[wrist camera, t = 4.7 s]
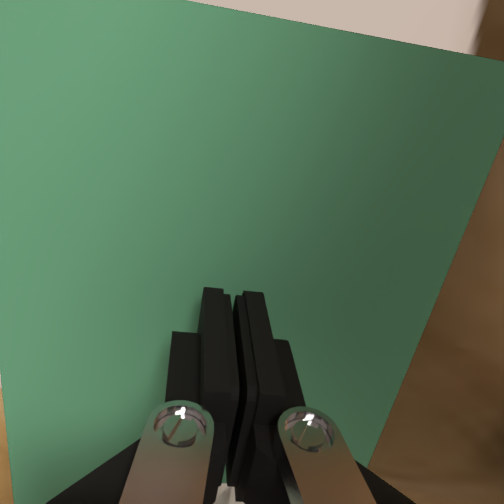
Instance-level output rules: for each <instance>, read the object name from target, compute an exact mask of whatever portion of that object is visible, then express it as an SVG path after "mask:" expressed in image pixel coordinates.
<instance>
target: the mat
mask: <svg viewBox="0 0 504 504" xmlns="http://www.w3.org/2000/svg"><path fill="white" fill-rule="evenodd" d="M503 137H504V61H500V60H494V59H489V58H484V57H479V56H474V55H468V54H463V53H458V52H452V51H447V50H442V49H437V48H432V47H427V46H421V45H416V44H411V43H405V42H400V41H395V40H389V39H385V38H380V37H374V36H369V35H364V34H359V33H354V32H348V31H343V30H337V29H332V28H327V27H322V26H317V25H312V24H307V23H302V22H296V21H290V20H286V19H280V18H275V17H270V16H265V15H260V14H255V13H249V12H244V11H238V10H234V9H229V8H223V7H218V6H213V5H208V4H202V3H197V2H192V1H187V0H0V373H1V383H2V392H3V402H4V412H5V421H6V431H7V441H8V451H9V460H10V470H11V480H12V489H13V499H14V504H46V503H47V502H48V501H49V500H51V499H52V498H54V497H55V496H57V495H58V494H59V493H61V492H62V491H64V490H65V489H67V488H68V487H70V486H71V485H73V484H74V483H76V482H77V481H78V480H80V479H81V478H83V477H84V476H86V475H87V474H89V473H90V472H92V471H93V470H95V469H96V468H97V467H99V466H100V465H102V464H103V463H105V462H106V461H108V460H109V459H111V458H112V457H114V456H115V455H116V454H118V453H119V452H121V451H122V450H124V449H125V448H127V447H128V446H130V445H131V444H133V443H134V442H135V441H137V440H138V439H140V438H141V436H142V433H143V430H144V427H145V424H146V421H147V419H148V417H149V415H150V414H151V412H152V411H153V410H154V409H155V408H157V407H158V406H159V405H161V404H164V403H165V394H166V384H167V374H168V365H169V356H170V346H171V337H172V331H178V332H191V333H197V330H198V323H199V316H200V309H201V301H202V294H203V288H204V287H212V288H223V290H224V294H230V295H231V304H232V311H233V305H234V300H235V296H236V295H242V293H243V291H255V292H263V294H264V297H265V302H266V307H267V311H268V316H269V320H270V325H271V330H272V334H273V339H283V340H288V341H289V344H290V347H291V351H292V355H293V358H294V362H295V366H296V370H297V374H298V377H299V381H300V385H301V389H302V393H303V396H304V400H305V404H306V407H310V408H314V409H317V410H319V411H321V412H323V413H325V414H326V415H327V416H329V417H330V418H331V419H332V420H333V421H334V422H335V424H336V425H337V427H338V428H339V430H340V432H341V434H342V436H343V438H344V440H345V442H346V444H347V446H348V448H349V450H350V452H351V454H352V456H353V458H354V459H355V460H356V461H357V462H359V463H360V464H361V465H363V466H364V467H366V468H367V467H368V464H369V462H370V459H371V457H372V455H373V452H374V450H375V447H376V445H377V442H378V440H379V438H380V435H381V433H382V430H383V428H384V425H385V423H386V421H387V418H388V416H389V413H390V411H391V409H392V406H393V404H394V401H395V399H396V396H397V394H398V392H399V389H400V387H401V384H402V382H403V379H404V377H405V375H406V372H407V370H408V367H409V365H410V363H411V360H412V358H413V355H414V353H415V350H416V348H417V346H418V343H419V341H420V338H421V336H422V333H423V331H424V329H425V326H426V324H427V321H428V319H429V317H430V314H431V312H432V309H433V307H434V304H435V302H436V300H437V297H438V295H439V292H440V290H441V287H442V285H443V283H444V280H445V278H446V275H447V273H448V271H449V268H450V266H451V263H452V261H453V258H454V256H455V254H456V251H457V249H458V246H459V244H460V241H461V239H462V237H463V234H464V232H465V229H466V227H467V225H468V222H469V220H470V217H471V215H472V212H473V210H474V208H475V205H476V203H477V200H478V198H479V195H480V193H481V191H482V188H483V186H484V183H485V181H486V179H487V176H488V174H489V171H490V169H491V166H492V164H493V162H494V159H495V157H496V154H497V152H498V149H499V147H500V145H501V142H502V140H503ZM213 504H245V503H244V502H235V487H228V486H227V481H226V465H225V469H224V474H223V479H222V484H221V486H219V487H218V491H217V496H216V501H215V502H214V503H213Z"/></svg>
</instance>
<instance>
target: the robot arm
mask: <svg viewBox="0 0 504 504" xmlns="http://www.w3.org/2000/svg"><path fill="white" fill-rule="evenodd" d="M225 465H226V481H227V486H228V487H235V502H244V503H245V504H416V503H414V502H413V501H411V500H410V499H409V498H407V497H406V496H404V495H403V494H402V493H400V492H399V491H398V490H396V489H395V488H393V487H392V486H391V485H389V484H388V483H386V482H385V481H384V480H382V479H381V478H380V477H378V476H377V475H375V474H374V473H373V472H371V471H370V470H368V469H367V468H366V467H364V466H363V465H361V464H360V463H359V462H357V461H356V460H355V459H354V458H353V456H352V454H351V452H350V450H349V448H348V446H347V444H346V442H345V440H344V438H343V436H342V434H341V432H340V430H339V428H338V427H337V425H336V424H335V422H334V421H333V420H332V419H331V418H330V417H329V416H327V415H326V414H325V413H323V412H321V411H319V410H317V409H314V408H310V407H306V404H305V400H304V396H303V393H302V389H301V385H300V381H299V377H298V374H297V370H296V366H295V362H294V358H293V355H292V351H291V347H290V344H289V341H288V340H283V339H273V334H272V330H271V325H270V320H269V316H268V311H267V307H266V302H265V297H264V294H263V292H255V291H243V293H242V295H236V296H235V300H234V305H233V311H232V304H231V295H230V294H224V290H223V288H212V287H204V288H203V294H202V301H201V309H200V316H199V323H198V330H197V333H191V332H178V331H172V337H171V346H170V356H169V365H168V374H167V384H166V394H165V403H164V404H161V405H159V406H158V407H157V408H155V409H154V410H153V411H152V412H151V414H150V415H149V417H148V419H147V421H146V424H145V427H144V430H143V433H142V436H141V438H140V439H138V440H137V441H135V442H134V443H133V444H131V445H130V446H128V447H127V448H125V449H124V450H122V451H121V452H119V453H118V454H116V455H115V456H114V457H112V458H111V459H109V460H108V461H106V462H105V463H103V464H102V465H100V466H99V467H97V468H96V469H95V470H93V471H92V472H90V473H89V474H87V475H86V476H84V477H83V478H81V479H80V480H78V481H77V482H76V483H74V484H73V485H71V486H70V487H68V488H67V489H65V490H64V491H62V492H61V493H59V494H58V495H57V496H55V497H54V498H52V499H51V500H49V501H48V502H47V503H46V504H213V503H214V502H215V501H216V496H217V491H218V487H219V486H221V484H222V479H223V474H224V469H225Z"/></svg>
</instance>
